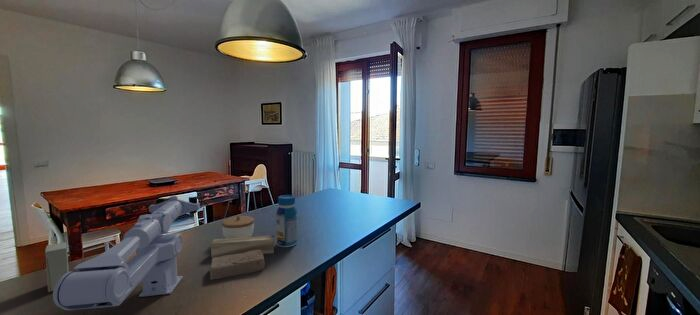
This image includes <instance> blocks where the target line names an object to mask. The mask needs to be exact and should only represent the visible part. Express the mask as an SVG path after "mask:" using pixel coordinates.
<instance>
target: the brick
mask: <svg viewBox="0 0 700 315" xmlns="http://www.w3.org/2000/svg"><path fill="white" fill-rule="evenodd" d="M265 267H266V266H265V257H264V254H263V253H262V251H261V250H254V251H249V252H245V253H242V254H241V253H240V254H233V255H225V256H220V257H215V258H211V262H210V267H209V279H210V280H212V281H215V280H219V279H220V280H221V279H224V278H229V277H234V276H240V275H244V274H245V275H246V274H250V273H255V272H258V271H262V270H264V268H265Z"/></svg>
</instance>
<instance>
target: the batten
mask: <svg viewBox="0 0 700 315" xmlns="http://www.w3.org/2000/svg"><path fill="white" fill-rule="evenodd" d="M254 250H261V251H262V253H263V255H267V254H274V252H275V235H261V236H258V235H257V236H251V237H242V238H227V239H226V238H215V239H213V240H212V241H211V243H210V251H211V252H210V255H211V259H213V258H215V257H220V256H225V255H233V254H240V253H241V254H242V253H245V252H249V251H254Z"/></svg>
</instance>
